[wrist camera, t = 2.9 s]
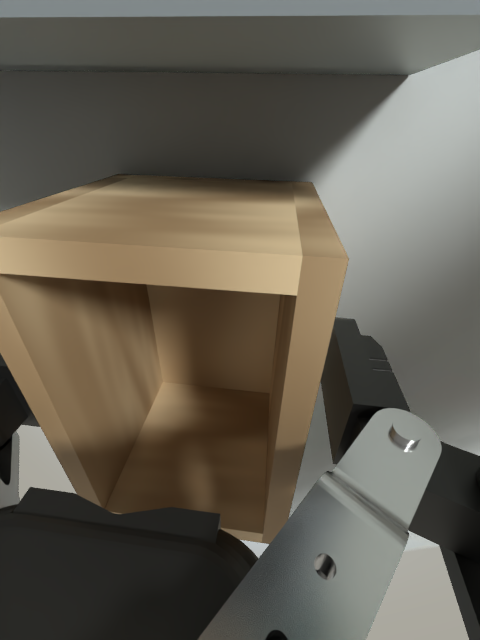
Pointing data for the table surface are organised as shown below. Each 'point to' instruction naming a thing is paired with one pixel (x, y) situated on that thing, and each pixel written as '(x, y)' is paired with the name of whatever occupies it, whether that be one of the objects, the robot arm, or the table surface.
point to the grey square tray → (237, 35)
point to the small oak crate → (174, 338)
